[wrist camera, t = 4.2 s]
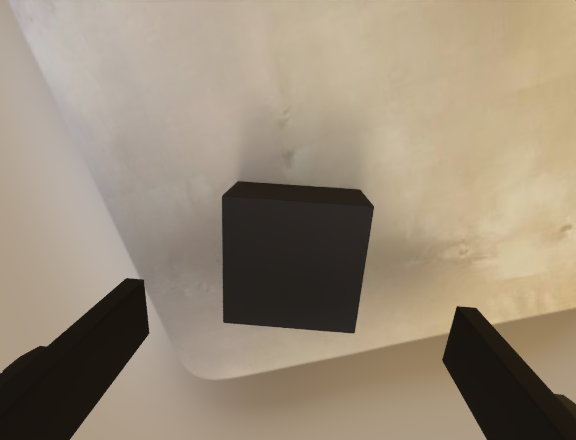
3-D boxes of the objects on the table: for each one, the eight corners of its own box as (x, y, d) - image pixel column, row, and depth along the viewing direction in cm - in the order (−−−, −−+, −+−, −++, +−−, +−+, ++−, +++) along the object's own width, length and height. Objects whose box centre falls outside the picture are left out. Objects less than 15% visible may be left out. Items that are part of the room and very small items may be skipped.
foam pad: (236, 288, 22) (223, 322, 18) (237, 181, 20) (221, 195, 16) (345, 296, 22) (354, 333, 18) (360, 189, 19) (374, 206, 16)
